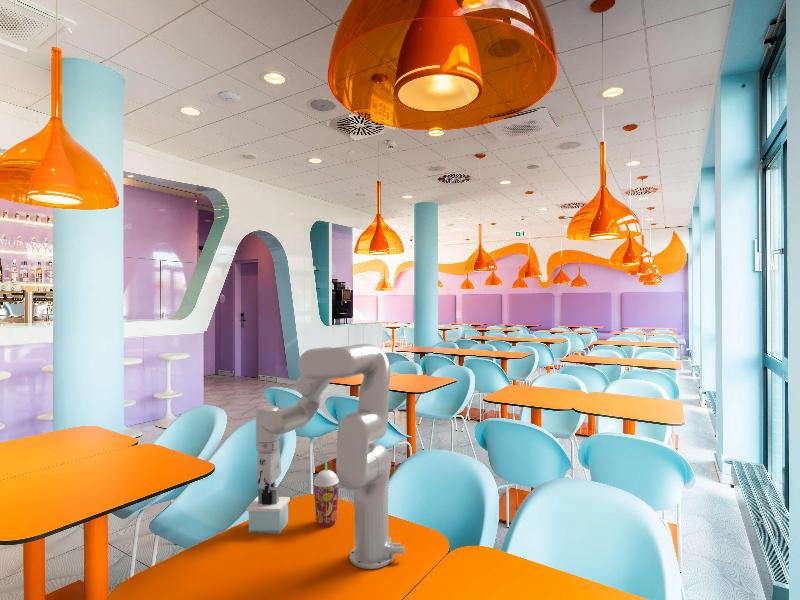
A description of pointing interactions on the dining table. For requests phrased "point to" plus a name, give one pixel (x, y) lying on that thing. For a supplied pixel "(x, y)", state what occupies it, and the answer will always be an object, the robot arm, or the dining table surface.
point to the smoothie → (326, 497)
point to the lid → (276, 505)
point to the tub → (268, 521)
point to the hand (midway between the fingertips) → (268, 501)
